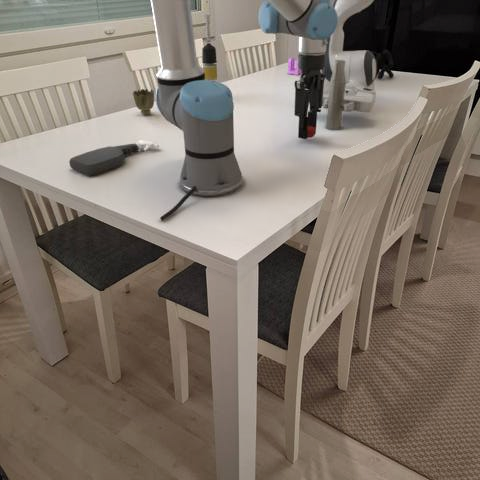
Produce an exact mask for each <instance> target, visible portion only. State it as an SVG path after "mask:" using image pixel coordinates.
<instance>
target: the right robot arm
mask: <svg viewBox="0 0 480 480" xmlns="http://www.w3.org/2000/svg"><path fill="white" fill-rule="evenodd" d="M374 1H375V0H330V5H331V6H333V7H334V8H335V10H336V12H337V16H338V22H337V26H336V29H335V31H334V32H333V34H332V35H331V36H330V37H329V38H327V42H328V43H327V45H326V52H324V54H325V55H326V60H325V68H324V69H321V73H323V74H326V77H325V81H324V89H323V100H322V108H323V109H326V110H328V99H329V87H330V80H331V77H332V74H333V71H334V61H335V60H344V61H346V62H345V69H344V72H345V81H346V82H345V94H344V103H343V105H342V109H341V110H342V111H343V112H352V111H353V112H359V113H366V114H368V113H372V112H373V111H374V109H375V105H376V104H375V103H376V96H377V95H376V90H375V81H376V78H377V76H376V74H377V61H376V57H374V55H373V54H372V53H371V51H370V50H364V49H363V50H344V40H345V32H344V29H343V27H344V24H345V22H346V21H347V20H348V19H349V18H350V17H352V16H353V15H355V14H357V13H361V11H363V10H365V9H366V8H368V7H369V6H371V4H372V3H374ZM319 82H320V81H319Z"/></svg>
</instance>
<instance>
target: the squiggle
mask: <svg viewBox="0 0 480 480" xmlns="http://www.w3.org/2000/svg"><path fill="white" fill-rule="evenodd" d="M370 52H371V53H372V54H373V55H374V57H375V58H376V61H377V74H376V77H377V78H378V79H379V80H382V79H383V78H384V75H385V73H386V74H387V75H388V77H389V78H394V72H393V71H392V69H390V68H392V67H393V66H394V60H393V57H392V54H391V51H389V50H388V49H384V51H383V52H382V54H381V53H377V52H376V51H373V50H371V51H370ZM382 55H383V56H382ZM386 61H388V64H386Z"/></svg>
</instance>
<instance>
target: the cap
mask: <svg viewBox="0 0 480 480" xmlns="http://www.w3.org/2000/svg"><path fill="white" fill-rule="evenodd" d="M315 135H316V134H315V127H313V126H308V133H307V139H311V138H314V137H315Z"/></svg>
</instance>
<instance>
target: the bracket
mask: <svg viewBox="0 0 480 480" xmlns="http://www.w3.org/2000/svg"><path fill="white" fill-rule="evenodd" d="M301 72H302V70H301V69H299V68H298V58H296V60H295V57H289V58H288V61H287V74H288V75H295V76H298V75H301Z"/></svg>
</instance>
